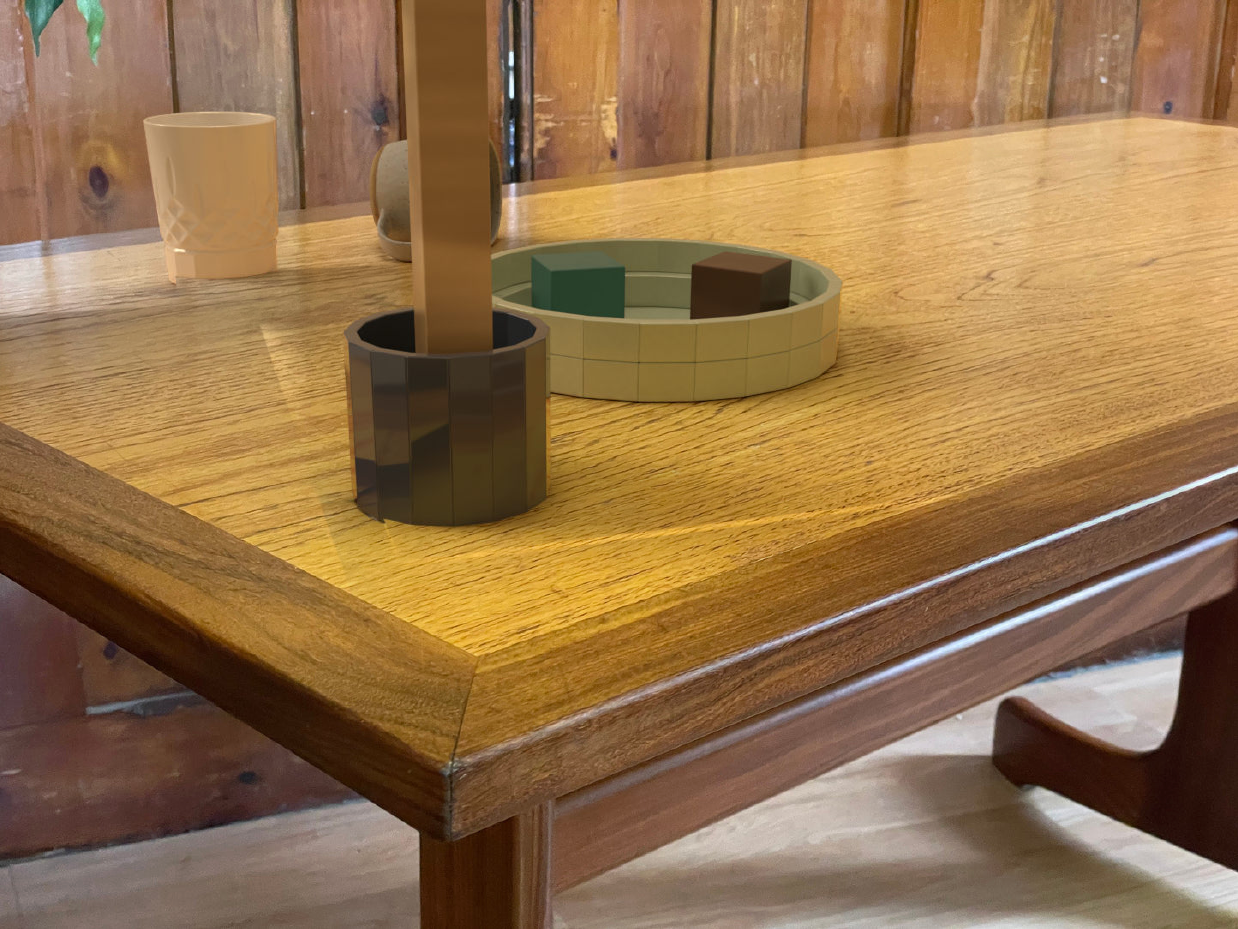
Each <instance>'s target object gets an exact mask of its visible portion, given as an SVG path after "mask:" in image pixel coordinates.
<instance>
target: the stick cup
mask: <svg viewBox="0 0 1238 929" xmlns="http://www.w3.org/2000/svg"><path fill="white" fill-rule="evenodd" d="M492 322H493V350H489V351H482V352H469V353H456V354H429V353H416V349H415V324H414V306H410V307H409V306H408V307H403V308H402V307H401V308H397V309H396V308H395V309H391V310H385V311H380V312H376V313H373V314H371V315H367V316H365V317H362V318H359V319H356V320H354V321H352V322H351V323H350V324H349V325H348V326H347V327H346V328H345V329H344V330H343V332H342V341H343V342H342V343H343V360H344V375H345V392H346V394H345V395H346V409H347V410H346V412H347V426H348V428H347V429H348V444H349V458H350V459H349V462H350V475H351V479H350V480H351V493H352V495H353V497H354V503H355V506H356V507H357V509H358V510H359V511H360V512H361V513H363V514H364V515H366V516H367V517H368V518H370V519H373V520H374V521H377V522H379V523H382V524H386V521H385V520H388V521H391V522H396V523H401V524H405V525H409V526H417V527H418V526H419V527H421V526H422V527H442V528H443V527H444V528H445V527H447V528H456V527H465V526H466V527H467V526H473V525H484V524H492V523H497V522H499V521H503V520H506V519H510V518H513V517H516V516H520V515H523V514H526V513H528V512H530V511H531V510H533V509H534V508H536V507H537V506H539V505H540V504H542V503H543V502H545V501H546V500H547V499H548V496H549V494H550V490H551V486H552V435H551V434H552V433H551V432H552V429H551V428H552V427H551V426H552V422H551V419H552V417H551V416H552V415H551V414H552V413H551V411H552V408H551V407H552V406H551V401H552V400H551V399H552V398H551V396H552V395H551V393H552V392H551V385H550V327H549V326H548V325H547V324H545V323H544V322H543V321H542V320H541V319H540V318H538V317H535V316H532V315H528V314H525V313H522V312H519V311H515V310H510V309H503V308H496V307H492Z"/></svg>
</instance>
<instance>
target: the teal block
mask: <svg viewBox="0 0 1238 929" xmlns="http://www.w3.org/2000/svg"><path fill="white" fill-rule="evenodd" d="M531 292H532V308H537V309H541V310H548V311H555V312H562V313H569V314H577V315H584V316H592V317H607V318H623V319H624V318H625V266H624V265H622V264H620V263H619V262H617V261H616V260H614V259H613V258H611V257H610V256H608V255H607V254H605V253H604V252H602V251H596V252H577V253H559V254H541V255H532V256H531Z"/></svg>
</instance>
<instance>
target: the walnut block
mask: <svg viewBox="0 0 1238 929" xmlns="http://www.w3.org/2000/svg"><path fill="white" fill-rule="evenodd" d="M791 265H792V260H790V259H782V258H774V257H766V256H758V255H750V254H742V253H734V252H727V251H725V252H722V253H720V254H717V255H714V256H712V257H709V258H707V259H704V260H702V261H699V262H697V263H694V264H692V272H691V302H690V320H694V319H708V318H722V317H736V316H744V315H751V314H757V313H763V312H769V311H775V310H782V309H785V308H789V299H790V282H791Z"/></svg>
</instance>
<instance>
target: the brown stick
mask: <svg viewBox="0 0 1238 929" xmlns="http://www.w3.org/2000/svg"><path fill="white" fill-rule="evenodd" d="M401 16H402V17H401V21H402V23H401V24H402V48H403V70H404V95H405V118H406V119H405V120H406V140H407V149H408V174H409V199H410V224H411V249H412V262H411V270H412V271H411V272H412V295H413V307H414V324H415V349H416V353H429V354H456V353H469V352H482V351H489V350H493V322H492V271H491V254H492V245H491V219H490V168H489V138H490V126H489V125H490V123H489V75H488V71H489V70H488V24H487V20H488V19H487V17H488V16H487V0H401Z"/></svg>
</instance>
